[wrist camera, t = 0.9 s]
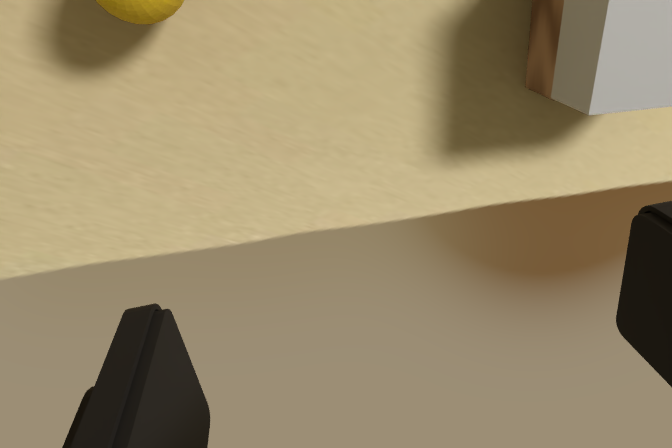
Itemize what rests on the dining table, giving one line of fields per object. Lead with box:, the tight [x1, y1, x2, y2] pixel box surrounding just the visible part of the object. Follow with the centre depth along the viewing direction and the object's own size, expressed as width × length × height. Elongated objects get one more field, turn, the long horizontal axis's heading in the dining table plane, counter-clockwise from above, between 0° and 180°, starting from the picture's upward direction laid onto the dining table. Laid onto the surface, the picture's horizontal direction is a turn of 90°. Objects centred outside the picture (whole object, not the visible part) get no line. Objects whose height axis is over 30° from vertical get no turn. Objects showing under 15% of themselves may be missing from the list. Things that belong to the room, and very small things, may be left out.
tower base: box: [525, 0, 564, 100], centre depth 34 cm, size 10×10×4 cm
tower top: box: [551, 0, 672, 115], centre depth 30 cm, size 10×10×4 cm
